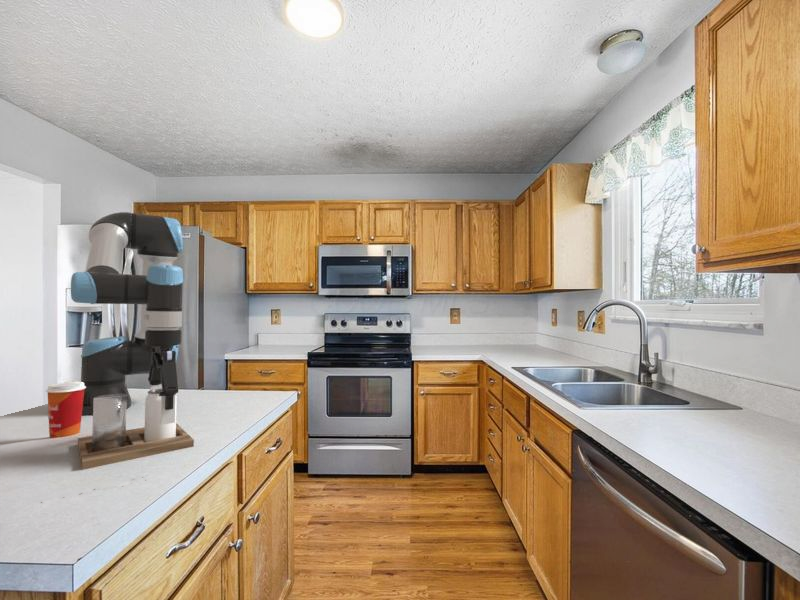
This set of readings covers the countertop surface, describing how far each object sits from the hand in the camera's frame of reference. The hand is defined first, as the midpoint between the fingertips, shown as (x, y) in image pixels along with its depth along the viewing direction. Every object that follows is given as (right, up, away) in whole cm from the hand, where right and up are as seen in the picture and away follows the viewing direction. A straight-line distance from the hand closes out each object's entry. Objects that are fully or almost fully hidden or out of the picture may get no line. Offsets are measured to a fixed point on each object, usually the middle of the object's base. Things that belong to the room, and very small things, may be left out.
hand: (161, 416), depth 93 cm
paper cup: (-27, -7, +4) cm, 28 cm away
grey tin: (-7, -6, -7) cm, 12 cm away
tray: (-4, -7, -4) cm, 9 cm away
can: (0, -6, 0) cm, 6 cm away
